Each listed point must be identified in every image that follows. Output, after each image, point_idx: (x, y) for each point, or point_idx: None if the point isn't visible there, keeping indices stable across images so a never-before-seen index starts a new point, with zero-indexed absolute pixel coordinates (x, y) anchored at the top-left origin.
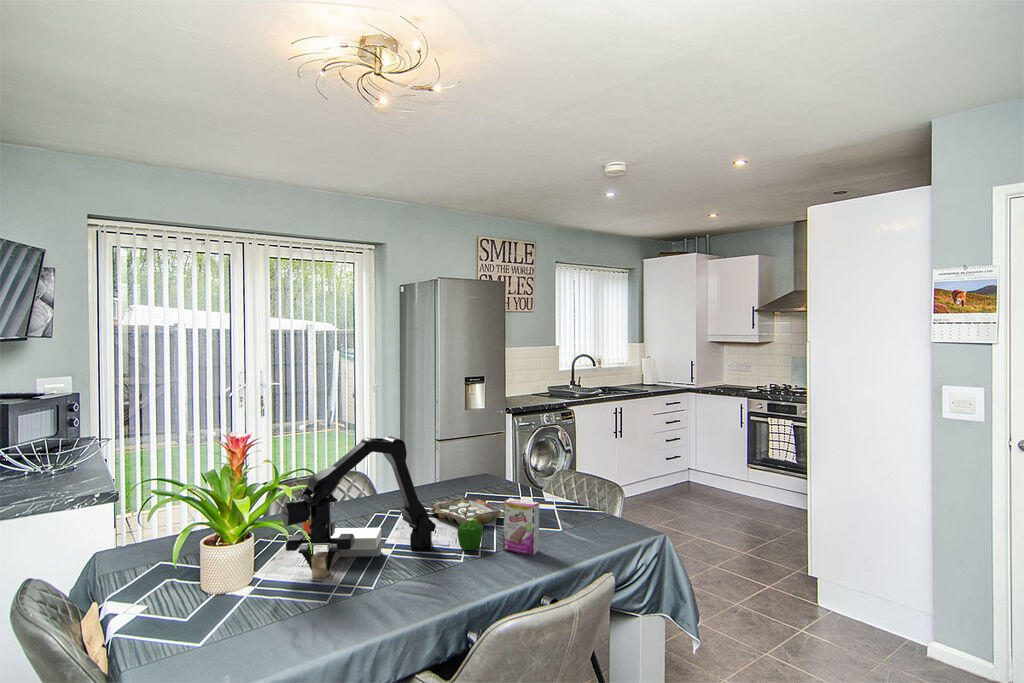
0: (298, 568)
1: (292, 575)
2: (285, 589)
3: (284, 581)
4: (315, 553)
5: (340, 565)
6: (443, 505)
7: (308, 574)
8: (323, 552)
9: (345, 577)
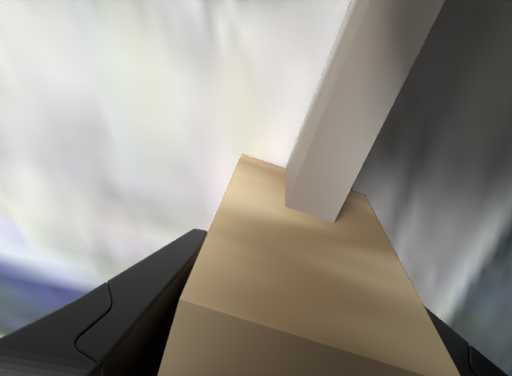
0: (14, 21)
1: (29, 183)
2: None
3: (16, 272)
4: (163, 361)
5: (485, 33)
6: None
7: (165, 193)
8: (323, 368)
9: (471, 306)
